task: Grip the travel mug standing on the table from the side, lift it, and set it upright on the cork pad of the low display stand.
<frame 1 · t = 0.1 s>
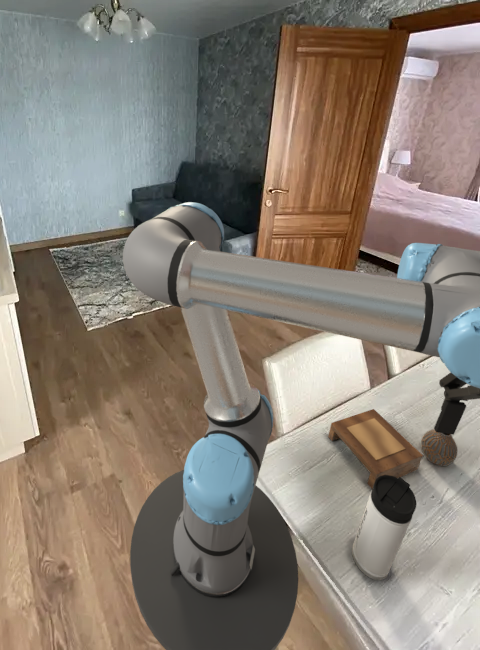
hand: (467, 470, 53), 29 cm above the table, tool pointing down, fingers open, 13 cm apart
travel mug: (369, 560, 66), on the table
display stand: (370, 452, 86), on the table
vase: (434, 458, 85), on the table
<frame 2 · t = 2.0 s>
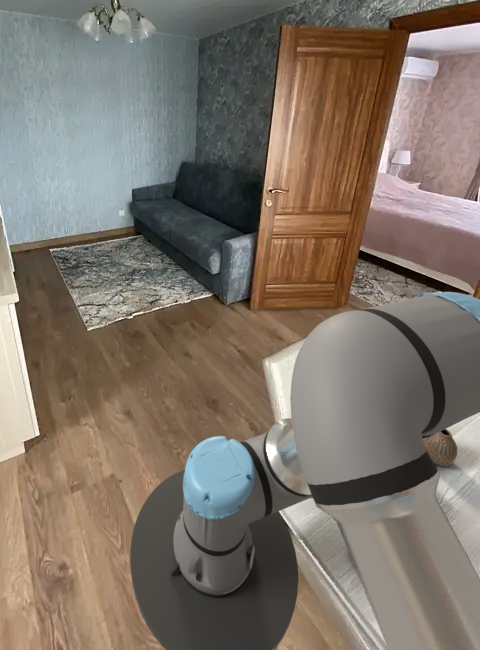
hand: (441, 542, 48), 24 cm above the table, tool horizontal, fingers open, 13 cm apart
nothing on the table moved.
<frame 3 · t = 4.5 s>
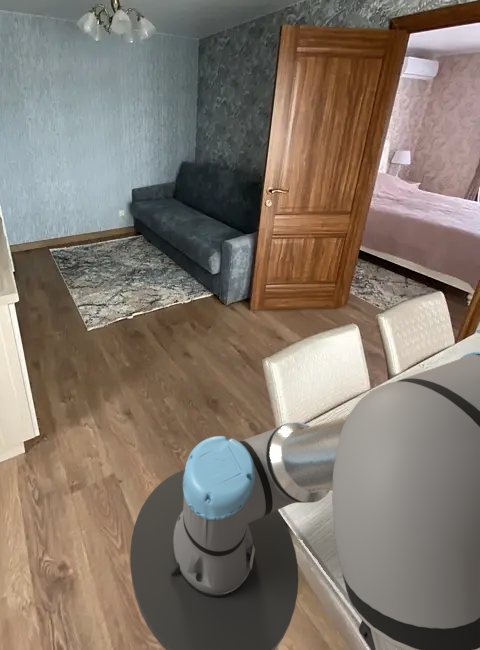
hand: (402, 563, 56), 11 cm above the table, tool horizontal, fingers open, 13 cm apart
nothing on the table moved.
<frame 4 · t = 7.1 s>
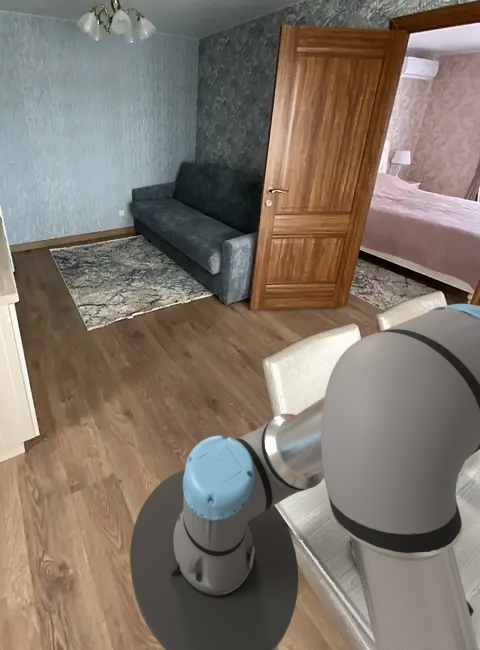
hand: (369, 493, 66), 11 cm above the table, tool horizontal, fingers closed on travel mug, 6 cm apart
travel mug: (369, 559, 66), on the table, touching gripper
everything else where it was.
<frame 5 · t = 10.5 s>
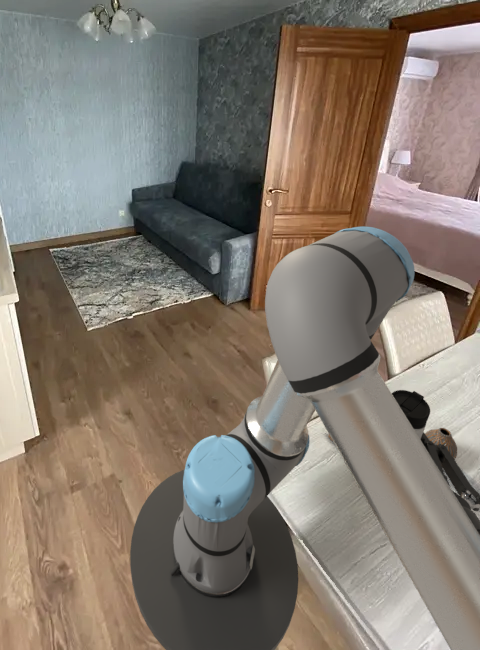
hand: (384, 414, 70), 22 cm above the table, tool horizontal, fingers closed on travel mug, 6 cm apart
travel mug: (384, 476, 70), point 11 cm above the table, touching gripper
everything else where it was.
when the fingers open (16 cm above the table, at t = 14.3 s): travel mug stays where it is, resting on display stand.
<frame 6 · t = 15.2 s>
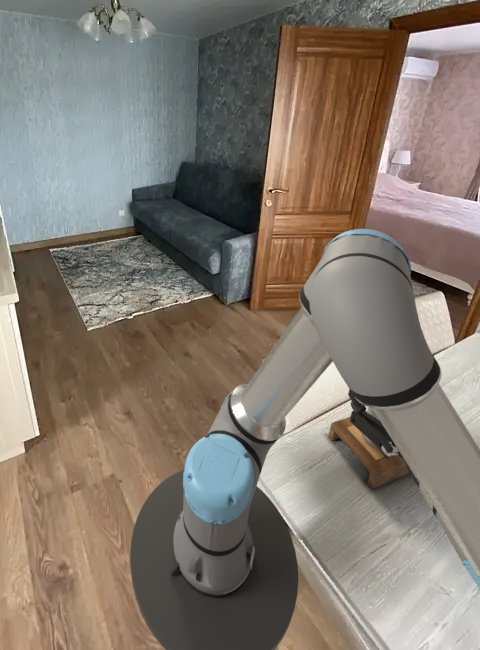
hand: (379, 391, 83), 17 cm above the table, tool horizontal, fingers open, 13 cm apart
travel mug: (375, 438, 84), point 5 cm above the table, touching display stand
everything else where it was.
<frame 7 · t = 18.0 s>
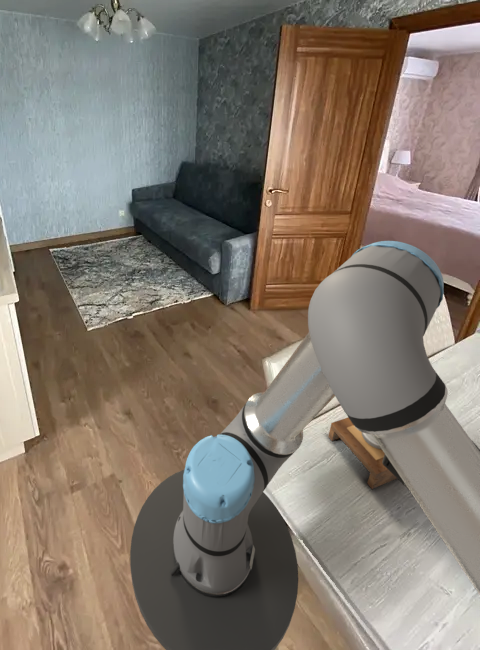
hand: (414, 424, 70), 21 cm above the table, tool horizontal, fingers open, 13 cm apart
nothing on the table moved.
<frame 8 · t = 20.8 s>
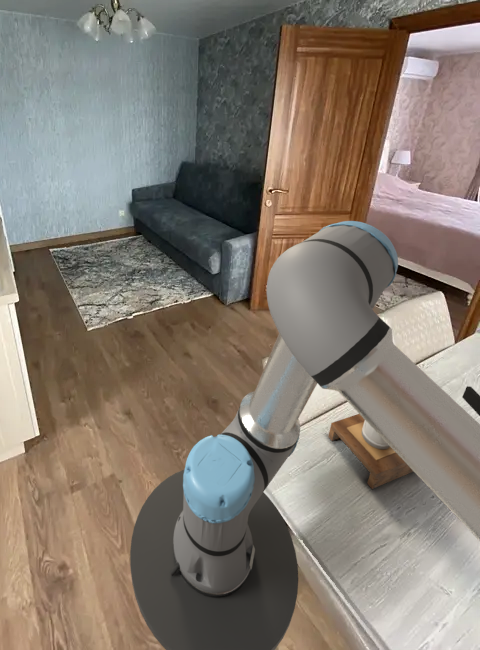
hand: (429, 390, 66), 30 cm above the table, tool horizontal, fingers open, 13 cm apart
nothing on the table moved.
at the end: travel mug 0.1 cm off-centre on the display stand, point 5.0 cm above the display stand's base; travel mug tilted 0°; the gripper is holding nothing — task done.
